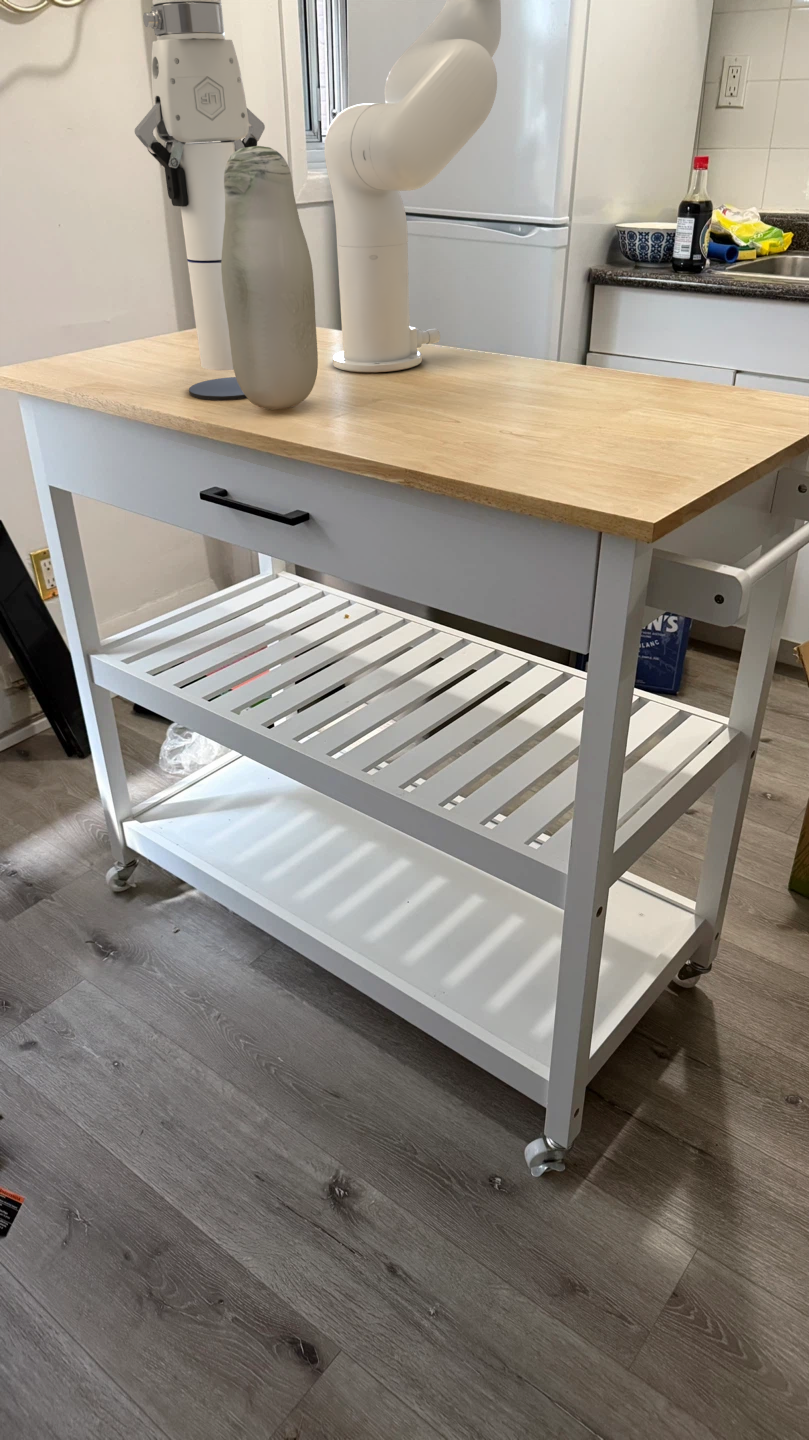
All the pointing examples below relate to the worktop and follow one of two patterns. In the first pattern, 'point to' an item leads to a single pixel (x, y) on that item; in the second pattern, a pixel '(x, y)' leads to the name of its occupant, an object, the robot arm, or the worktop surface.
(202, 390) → the coaster
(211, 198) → the cylindrical container
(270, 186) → the standing stone ornament
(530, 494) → the worktop surface
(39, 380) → the worktop surface
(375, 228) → the robot arm
